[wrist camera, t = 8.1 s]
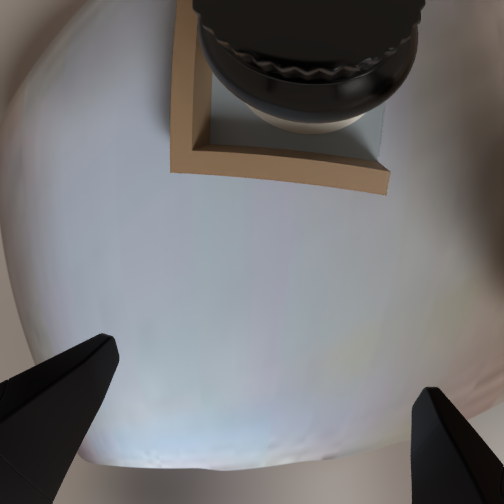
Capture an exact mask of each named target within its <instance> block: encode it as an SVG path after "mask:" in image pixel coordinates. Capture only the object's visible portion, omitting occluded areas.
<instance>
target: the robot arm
mask: <svg viewBox="0 0 504 504" xmlns="http://www.w3.org/2000/svg"><path fill="white" fill-rule="evenodd" d="M118 363H119V353H118V349H117V345H116V341H115V339H114V337H113V336H110V335H107V334H103V333H101V334H98V335H96V336H94V337H92V338H90V339H88V340H86V341H84V342H82V343H80V344H78V345H76V346H74V347H72V348H70V349H68V350H66V351H64V352H62V353H60V354H58V355H56V356H54V357H52V358H50V359H48V360H46V361H44V362H42V363H40V364H38V365H36V366H34V367H32V368H30V369H28V370H26V371H24V372H22V373H20V374H18V375H16V376H14V377H12V378H10V379H9V380H5V381H3V382H1V383H0V504H52V503H53V501H54V499H55V496H56V494H57V492H58V490H59V488H60V486H61V484H62V482H63V479H64V477H65V475H66V473H67V471H68V469H69V467H70V465H71V463H72V461H73V459H74V457H75V455H76V453H77V451H78V449H79V447H80V445H81V443H82V441H83V439H84V437H85V435H86V433H87V431H88V429H89V427H90V425H91V423H92V422H93V420H94V418H95V416H96V414H97V412H98V410H99V408H100V406H101V404H102V402H103V400H104V398H105V395H106V393H107V390H108V388H109V385H110V383H111V380H112V378H113V375H114V373H115V371H116V368H117V366H118ZM411 477H412V504H504V467H503V464H502V463H501V461H500V460H499V459H498V458H497V456H496V455H495V454H494V453H493V451H492V450H491V449H490V448H489V447H488V445H487V444H486V443H485V442H484V441H483V439H482V438H481V437H480V436H479V434H478V433H477V432H476V431H475V430H474V428H473V427H472V426H471V425H470V424H469V422H468V421H467V420H466V419H465V418H464V416H463V415H462V414H461V413H460V412H459V411H458V409H457V408H456V407H455V406H454V405H453V404H452V402H451V401H450V400H449V399H448V398H447V397H446V396H445V394H444V393H443V392H442V391H441V390H440V389H439V388H438V387H425V388H424V389H423V390H422V392H421V393H420V395H419V397H418V398H417V400H416V401H415V403H414V405H413V407H412V428H411Z"/></svg>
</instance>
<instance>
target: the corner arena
mask: <svg viewBox="0 0 504 504" xmlns="http://www.w3.org/2000/svg"><path fill="white" fill-rule="evenodd" d="M192 1H193V0H177V9H176V19H175V31H174V45H173V61H172V81H171V112H170V173H189V174H205V175H220V176H233V177H244V178H256V179H266V180H276V181H285V182H294V183H303V184H311V185H319V186H327V187H334V188H341V189H348V190H355V191H362V192H368V193H374V194H381V195H386V194H387V189H388V183H389V177H390V171H389V170H387V169H386V168H385V167H384V166H383V165H381V164H380V163H379V162H378V159H379V152H380V144H381V136H382V127H383V117H384V107H385V102H383V103H382V104H381V105H379V106H377V107H376V108H374V109H372V110H370V111H368V112H366V113H364V114H362V115H359V116H356V117H354V118H351V119H347V120H343V121H338V122H331V123H319V124H316V123H300V122H293V121H288V120H284V119H280V118H277V117H274V116H271V115H268V114H266V113H263V112H261V111H259V110H257V109H255V108H253V107H252V106H250V105H248V104H246V103H245V102H243V101H242V100H240V99H239V98H238V97H236V96H235V95H234V94H233V93H231V92H230V91H229V90H228V89H227V88H226V87H225V86H224V85H223V84H222V83H221V82H220V81H219V79H218V78H217V77H216V76H215V74H214V73H213V71H212V70H211V68H210V67H209V65H208V63H207V61H206V59H205V57H204V54H203V52H202V49H201V46H200V42H199V37H198V27H197V20H198V15H197V14H196V13H195V12H194V11H193V7H192Z"/></svg>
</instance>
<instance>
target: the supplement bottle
mask: <svg viewBox="0 0 504 504" xmlns="http://www.w3.org/2000/svg"><path fill="white" fill-rule="evenodd" d="M424 6H425V0H193V1H192V7H193V11H194V12H195V13H196V14H197V15H198V20H197V27H198V37H199V42H200V46H201V49H202V52H203V54H204V57H205V59H206V61H207V63H208V65H209V67H210V68H211V70H212V71H213V73H214V74H215V76H216V77H217V78H218V79H219V81H220V82H221V83H222V84H223V85H224V86H225V87H226V88H227V89H228V90H229V91H230V92H231V93H233V94H234V95H235V96H236V97H238V98H239V99H240V100H242V101H243V102H245V103H246V104H248V105H250V106H252V107H253V108H255V109H257V110H259V111H261V112H263V113H266V114H268V115H271V116H274V117H277V118H280V119H284V120H288V121H293V122H300V123H316V124H319V123H331V122H338V121H343V120H347V119H351V118H354V117H356V116H359V115H362V114H364V113H366V112H368V111H370V110H372V109H374V108H376V107H377V106H379V105H381V104H382V103H383V102H385V101H386V100H387V99H389V98H390V97H391V96H392V95H393V94H394V93H395V92H396V91H397V90H398V89H399V88H400V86H401V85H402V84H403V82H404V81H405V79H406V78H407V76H408V74H409V72H410V70H411V68H412V66H413V63H414V60H415V57H416V53H417V47H418V26H417V25H418V24H419V23H420V21H421V10H422V9H423V7H424Z"/></svg>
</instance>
